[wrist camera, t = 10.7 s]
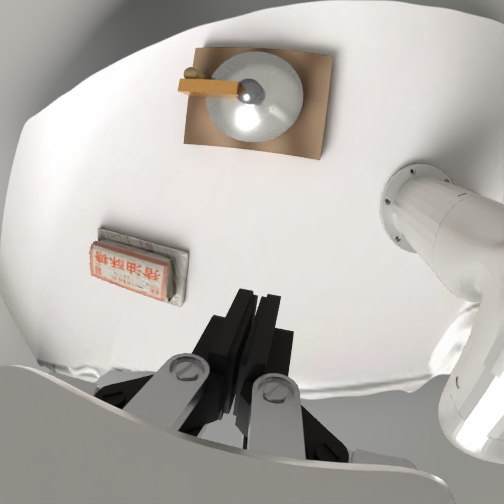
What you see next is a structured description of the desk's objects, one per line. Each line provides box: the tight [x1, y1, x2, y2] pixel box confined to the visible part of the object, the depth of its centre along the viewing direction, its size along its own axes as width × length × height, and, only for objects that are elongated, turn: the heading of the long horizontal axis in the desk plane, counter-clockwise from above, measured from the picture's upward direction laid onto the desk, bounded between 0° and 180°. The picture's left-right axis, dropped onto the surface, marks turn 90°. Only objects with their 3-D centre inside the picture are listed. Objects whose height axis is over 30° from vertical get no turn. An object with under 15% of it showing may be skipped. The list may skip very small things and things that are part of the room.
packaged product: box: [89, 228, 188, 307], centre depth 45 cm, size 18×5×10 cm
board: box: [184, 47, 333, 160], centre depth 31 cm, size 18×14×7 cm
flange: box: [178, 51, 303, 142], centre depth 30 cm, size 14×12×5 cm
